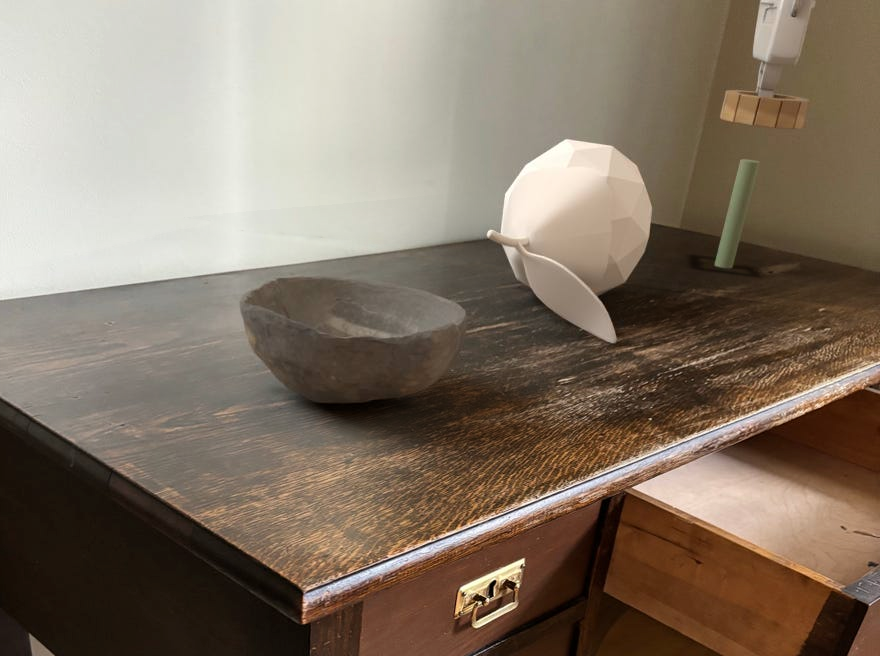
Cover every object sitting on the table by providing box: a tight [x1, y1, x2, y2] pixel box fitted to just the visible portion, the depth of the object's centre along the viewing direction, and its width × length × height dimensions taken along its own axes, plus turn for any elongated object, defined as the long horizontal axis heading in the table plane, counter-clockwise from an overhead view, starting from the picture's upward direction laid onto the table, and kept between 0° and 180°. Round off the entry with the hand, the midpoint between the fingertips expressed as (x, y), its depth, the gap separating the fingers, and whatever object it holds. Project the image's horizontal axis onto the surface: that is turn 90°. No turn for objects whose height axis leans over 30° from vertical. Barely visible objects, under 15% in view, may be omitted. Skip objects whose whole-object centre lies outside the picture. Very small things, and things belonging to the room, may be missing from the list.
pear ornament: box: [486, 138, 653, 344], centre depth 105 cm, size 16×22×28 cm
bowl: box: [239, 275, 468, 404], centre depth 78 cm, size 18×18×8 cm
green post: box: [714, 158, 761, 269], centre depth 128 cm, size 8×8×14 cm
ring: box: [719, 89, 811, 130], centre depth 119 cm, size 10×10×3 cm
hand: (761, 104), depth 122 cm, fingers closed on ring
